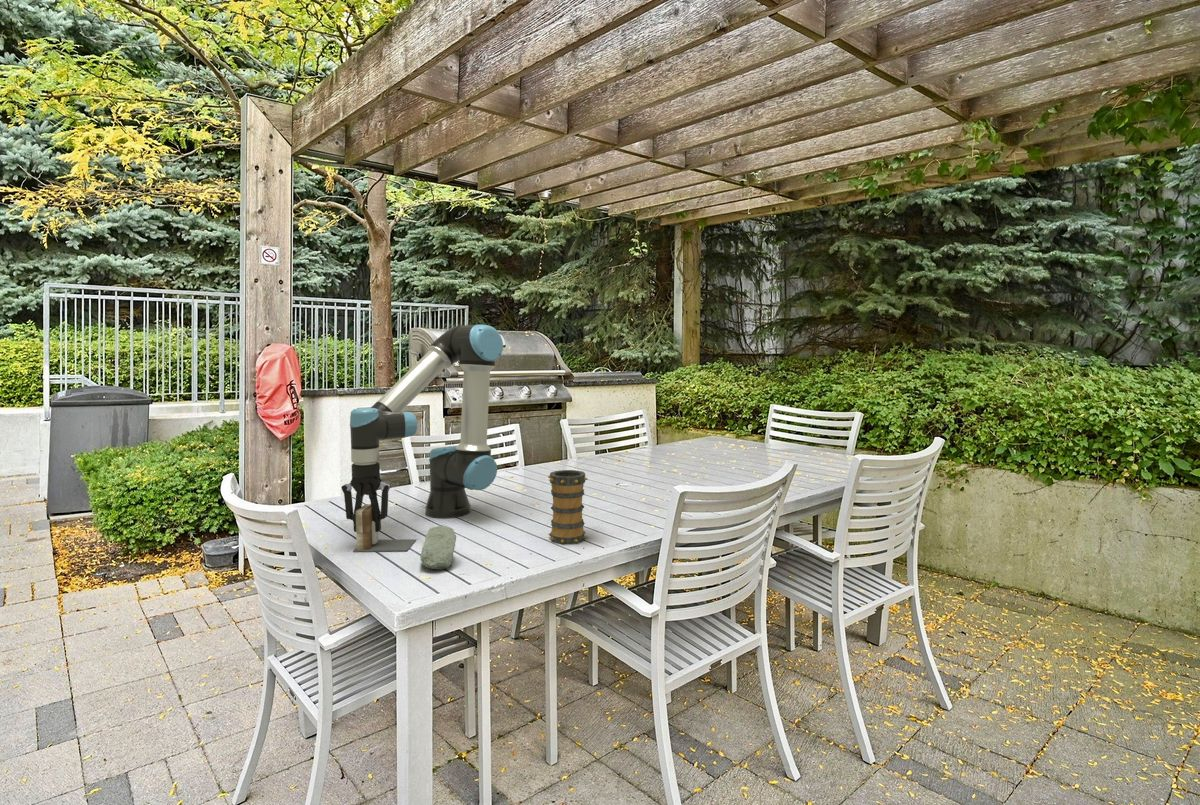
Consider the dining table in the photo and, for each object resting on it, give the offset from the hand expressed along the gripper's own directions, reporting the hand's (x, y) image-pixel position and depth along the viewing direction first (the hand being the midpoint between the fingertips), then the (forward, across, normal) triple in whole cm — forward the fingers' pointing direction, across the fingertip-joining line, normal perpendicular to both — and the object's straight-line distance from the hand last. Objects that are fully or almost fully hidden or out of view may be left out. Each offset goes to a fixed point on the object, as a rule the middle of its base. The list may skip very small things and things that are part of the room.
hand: (367, 542), depth 180 cm
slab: (+1, 0, 0) cm, 1 cm away
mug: (+1, -58, -8) cm, 59 cm away
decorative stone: (+1, -24, +15) cm, 28 cm away
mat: (+1, -5, 0) cm, 5 cm away
